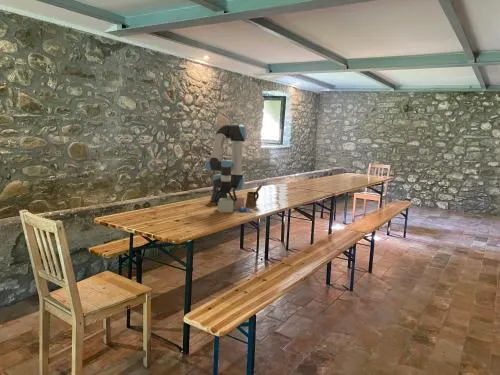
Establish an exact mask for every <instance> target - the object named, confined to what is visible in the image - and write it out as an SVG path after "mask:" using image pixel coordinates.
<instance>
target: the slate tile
mask: <svg viewBox="0 0 500 375" xmlns="http://www.w3.org/2000/svg"><path fill="white" fill-rule="evenodd" d="M233 212H234V213H236V214H253V213H254V212H253V211H251V209H249V208H247V211H243V212H241V211H240V210H239V209H233Z"/></svg>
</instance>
